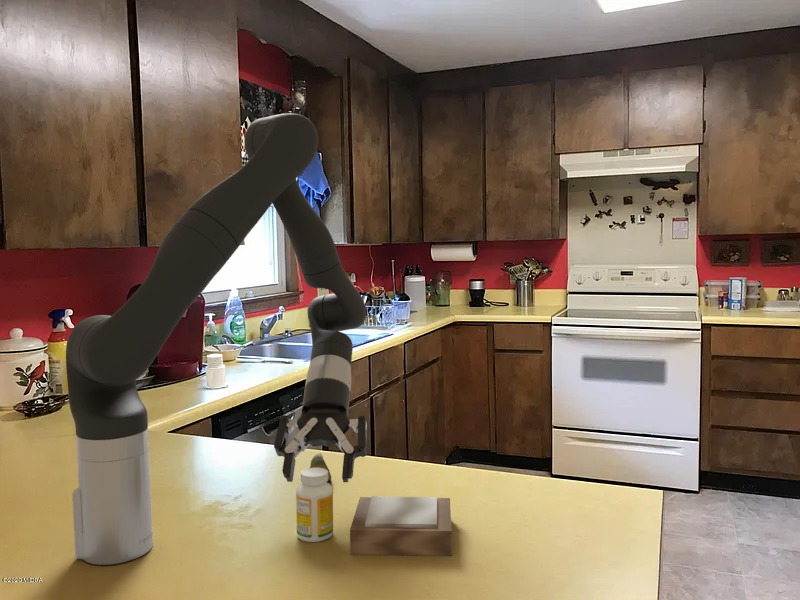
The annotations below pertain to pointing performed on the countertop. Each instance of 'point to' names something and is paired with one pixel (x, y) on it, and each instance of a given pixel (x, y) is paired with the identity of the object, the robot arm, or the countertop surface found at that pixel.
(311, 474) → the supplement bottle
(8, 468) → the countertop surface
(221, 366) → the white pipe fitting
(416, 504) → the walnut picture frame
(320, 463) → the lime
